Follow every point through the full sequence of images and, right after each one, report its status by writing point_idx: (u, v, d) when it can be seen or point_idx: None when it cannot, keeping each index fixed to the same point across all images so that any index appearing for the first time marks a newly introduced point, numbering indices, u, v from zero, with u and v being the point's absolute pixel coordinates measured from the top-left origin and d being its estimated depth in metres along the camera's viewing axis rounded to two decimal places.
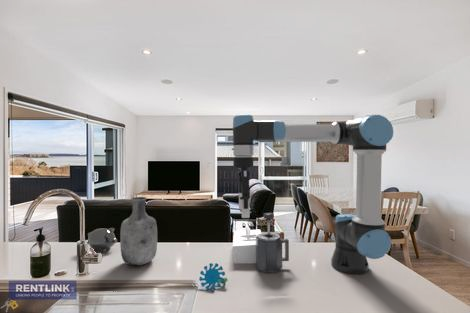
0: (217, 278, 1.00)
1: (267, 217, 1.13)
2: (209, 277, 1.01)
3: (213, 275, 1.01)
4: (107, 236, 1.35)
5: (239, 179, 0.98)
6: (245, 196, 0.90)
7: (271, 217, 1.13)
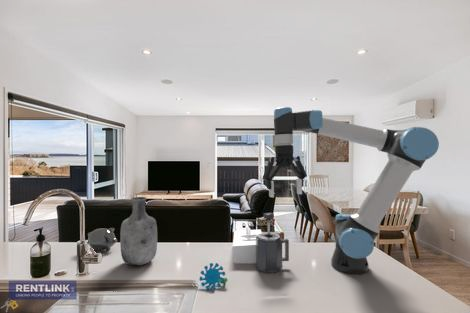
0: (217, 278, 1.00)
1: (267, 217, 1.13)
2: (209, 277, 1.01)
3: (213, 275, 1.01)
4: (107, 236, 1.35)
5: (278, 164, 1.13)
6: (263, 178, 1.08)
7: (271, 217, 1.13)
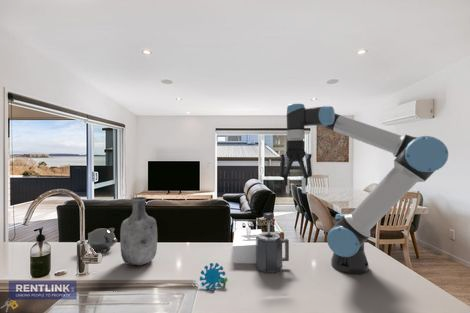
0: (217, 278, 1.00)
1: (267, 217, 1.13)
2: (209, 277, 1.01)
3: (213, 275, 1.01)
4: (107, 236, 1.35)
5: None
6: (280, 175, 1.16)
7: (271, 217, 1.13)
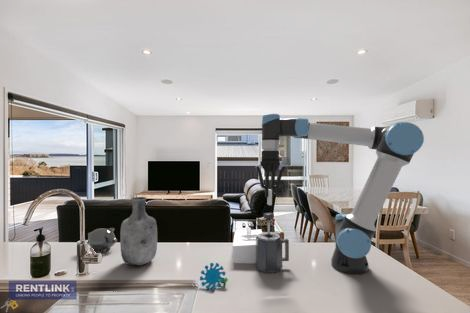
0: (217, 278, 1.00)
1: (267, 217, 1.13)
2: (209, 277, 1.01)
3: (213, 275, 1.01)
4: (107, 236, 1.35)
5: None
6: (261, 186, 1.15)
7: (271, 217, 1.13)
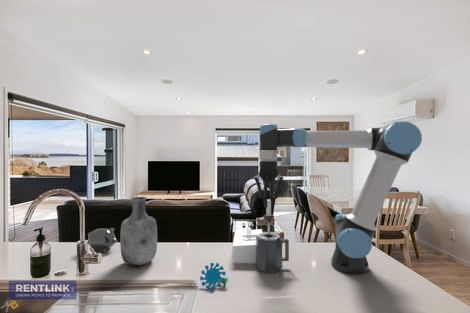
0: (217, 278, 1.00)
1: (267, 219, 1.13)
2: (210, 277, 1.01)
3: (214, 275, 1.01)
4: (107, 236, 1.35)
5: None
6: (260, 196, 1.15)
7: (271, 219, 1.13)
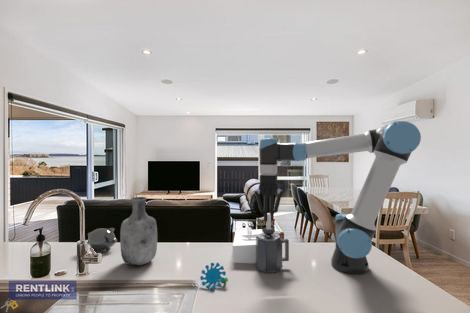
0: (218, 278, 1.00)
1: (267, 232, 1.13)
2: (210, 276, 1.01)
3: (214, 274, 1.01)
4: (107, 236, 1.35)
5: None
6: (260, 210, 1.15)
7: (271, 232, 1.13)
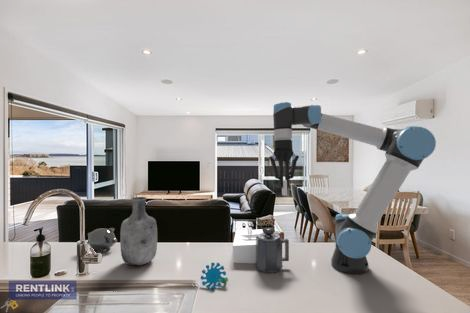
0: (218, 277, 1.01)
1: (267, 232, 1.13)
2: (210, 276, 1.02)
3: (214, 274, 1.02)
4: (107, 236, 1.35)
5: None
6: (275, 176, 1.13)
7: (271, 232, 1.13)
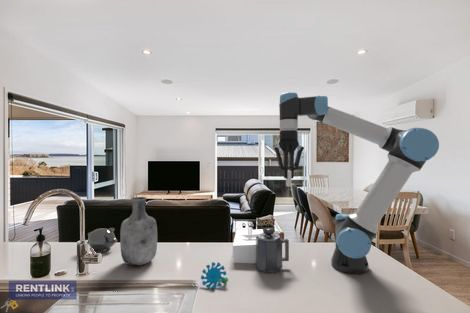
0: (218, 277, 1.01)
1: (267, 232, 1.13)
2: (210, 276, 1.02)
3: (214, 274, 1.02)
4: (107, 236, 1.35)
5: None
6: (280, 167, 1.13)
7: (271, 232, 1.13)
